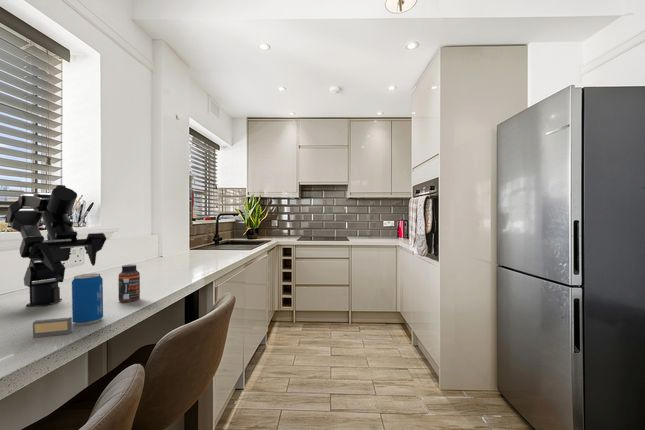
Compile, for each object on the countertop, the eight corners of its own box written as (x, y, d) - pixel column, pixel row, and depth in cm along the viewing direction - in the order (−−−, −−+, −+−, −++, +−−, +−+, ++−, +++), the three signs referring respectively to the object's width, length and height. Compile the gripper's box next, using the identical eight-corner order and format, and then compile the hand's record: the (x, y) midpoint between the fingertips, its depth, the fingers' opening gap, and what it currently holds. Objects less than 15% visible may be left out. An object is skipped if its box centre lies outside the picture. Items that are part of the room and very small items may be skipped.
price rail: (32, 337, 74) (32, 322, 74) (36, 335, 75) (35, 320, 75) (69, 334, 76) (69, 319, 76) (71, 332, 77) (71, 317, 77)
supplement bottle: (130, 303, 102) (129, 267, 102) (113, 302, 103) (113, 266, 103) (144, 298, 108) (143, 264, 107) (128, 297, 109) (128, 263, 109)
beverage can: (91, 326, 81) (90, 277, 81) (65, 326, 81) (65, 278, 81) (108, 317, 88) (108, 273, 88) (85, 317, 88) (84, 273, 88)
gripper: (87, 242, 106) (103, 279, 100) (9, 247, 90) (23, 292, 84) (98, 217, 102) (115, 255, 95) (18, 219, 86) (32, 264, 80)
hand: (74, 267), depth 89 cm, fingers open, 9 cm apart
